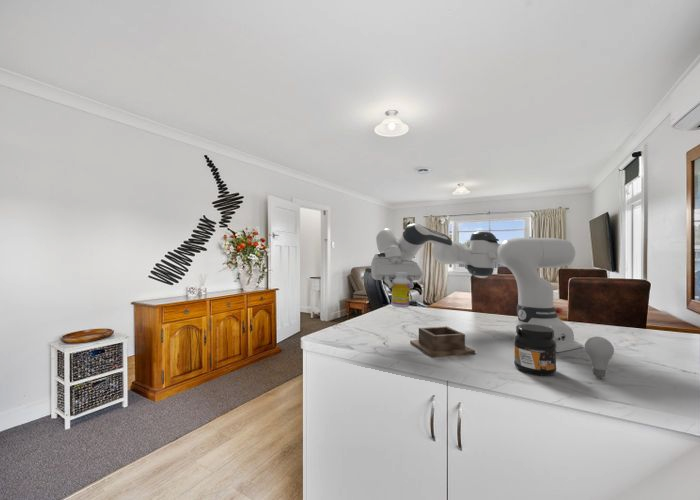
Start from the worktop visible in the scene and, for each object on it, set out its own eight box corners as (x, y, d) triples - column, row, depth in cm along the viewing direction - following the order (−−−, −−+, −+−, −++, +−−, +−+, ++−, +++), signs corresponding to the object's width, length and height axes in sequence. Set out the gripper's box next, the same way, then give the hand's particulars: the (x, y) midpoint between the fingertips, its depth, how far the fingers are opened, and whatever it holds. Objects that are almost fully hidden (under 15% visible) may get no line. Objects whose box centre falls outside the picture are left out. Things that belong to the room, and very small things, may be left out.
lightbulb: (579, 373, 86) (579, 334, 86) (599, 373, 86) (599, 333, 87) (598, 383, 80) (598, 340, 80) (620, 382, 80) (620, 339, 80)
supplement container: (521, 375, 85) (521, 331, 85) (508, 362, 95) (508, 322, 95) (564, 378, 83) (564, 333, 83) (546, 364, 93) (546, 324, 93)
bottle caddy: (448, 340, 118) (448, 324, 118) (475, 353, 103) (475, 335, 103) (410, 343, 114) (410, 326, 115) (431, 357, 99) (431, 338, 99)
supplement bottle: (409, 308, 114) (410, 273, 113) (390, 307, 115) (392, 272, 115) (408, 305, 120) (410, 272, 120) (391, 304, 121) (393, 271, 121)
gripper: (413, 265, 131) (423, 292, 122) (367, 264, 126) (374, 292, 116) (418, 255, 127) (429, 282, 117) (371, 254, 121) (378, 281, 112)
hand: (401, 287), depth 117 cm, fingers closed on supplement bottle, 7 cm apart
